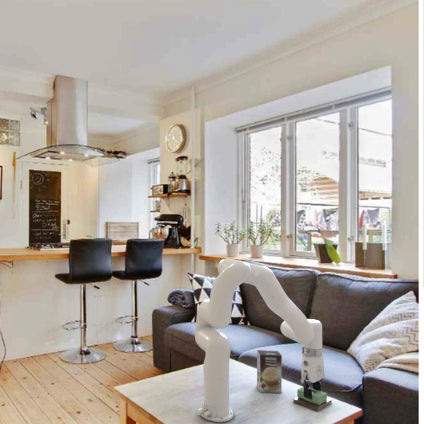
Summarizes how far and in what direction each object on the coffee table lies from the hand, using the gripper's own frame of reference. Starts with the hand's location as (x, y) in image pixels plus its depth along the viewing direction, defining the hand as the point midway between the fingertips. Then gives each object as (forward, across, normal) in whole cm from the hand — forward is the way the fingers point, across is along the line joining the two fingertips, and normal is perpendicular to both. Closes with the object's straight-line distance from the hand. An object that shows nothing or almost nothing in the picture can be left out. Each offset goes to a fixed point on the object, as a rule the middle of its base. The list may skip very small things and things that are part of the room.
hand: (312, 395), depth 169 cm
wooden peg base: (+3, 0, 0) cm, 3 cm away
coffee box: (+3, -3, +18) cm, 18 cm away
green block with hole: (+2, 0, 0) cm, 2 cm away
